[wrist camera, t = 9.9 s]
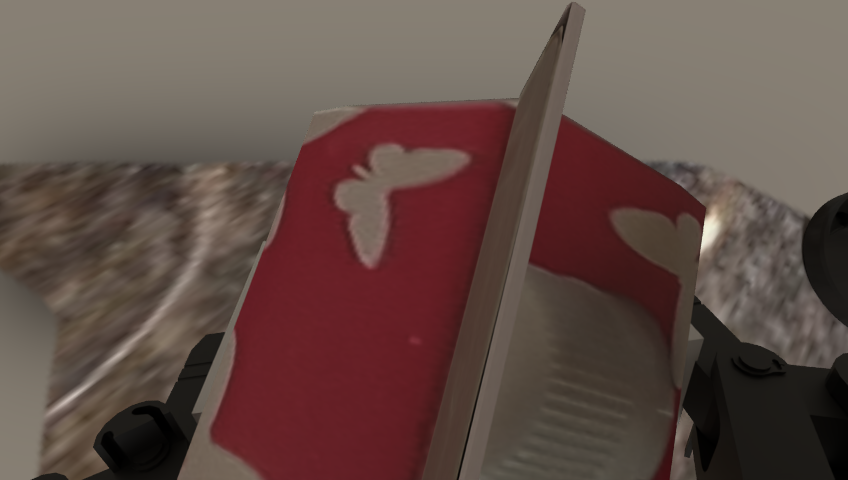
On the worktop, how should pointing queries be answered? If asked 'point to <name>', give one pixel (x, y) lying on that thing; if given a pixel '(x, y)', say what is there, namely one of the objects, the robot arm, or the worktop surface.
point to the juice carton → (461, 301)
